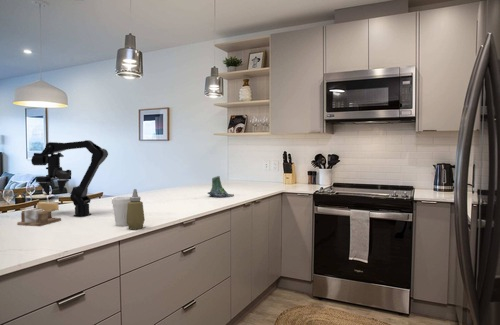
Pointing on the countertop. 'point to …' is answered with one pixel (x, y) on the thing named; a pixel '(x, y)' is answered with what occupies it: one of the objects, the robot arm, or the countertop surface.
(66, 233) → the countertop surface
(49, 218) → the display stand
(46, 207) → the wooden c-shaped bracket
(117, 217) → the foam cup
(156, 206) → the countertop surface
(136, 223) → the squeeze bottle
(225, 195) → the tree stump
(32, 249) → the countertop surface
